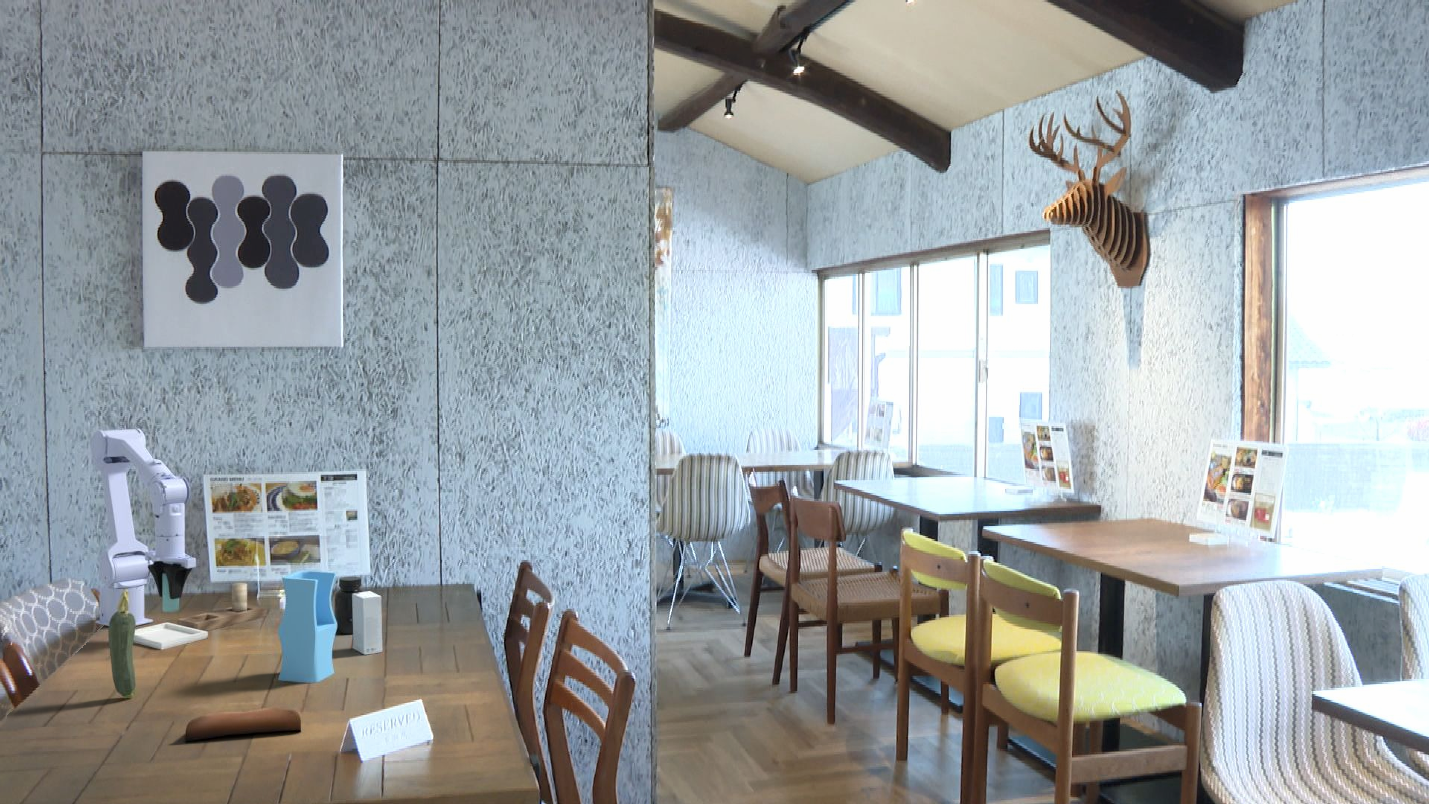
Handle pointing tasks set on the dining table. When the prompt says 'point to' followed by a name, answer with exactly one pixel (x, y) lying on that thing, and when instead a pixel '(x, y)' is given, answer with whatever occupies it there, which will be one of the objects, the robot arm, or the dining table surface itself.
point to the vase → (307, 627)
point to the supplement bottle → (345, 603)
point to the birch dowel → (239, 597)
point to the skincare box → (367, 622)
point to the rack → (222, 618)
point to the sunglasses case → (242, 723)
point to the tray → (167, 635)
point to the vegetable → (122, 647)
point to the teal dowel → (168, 597)
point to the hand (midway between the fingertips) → (170, 597)
